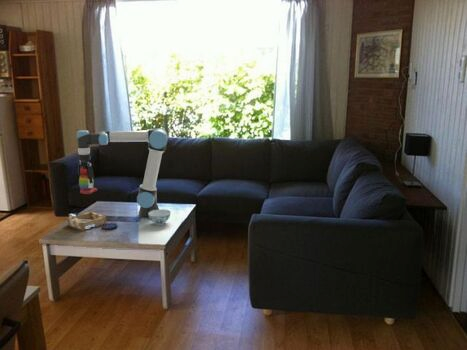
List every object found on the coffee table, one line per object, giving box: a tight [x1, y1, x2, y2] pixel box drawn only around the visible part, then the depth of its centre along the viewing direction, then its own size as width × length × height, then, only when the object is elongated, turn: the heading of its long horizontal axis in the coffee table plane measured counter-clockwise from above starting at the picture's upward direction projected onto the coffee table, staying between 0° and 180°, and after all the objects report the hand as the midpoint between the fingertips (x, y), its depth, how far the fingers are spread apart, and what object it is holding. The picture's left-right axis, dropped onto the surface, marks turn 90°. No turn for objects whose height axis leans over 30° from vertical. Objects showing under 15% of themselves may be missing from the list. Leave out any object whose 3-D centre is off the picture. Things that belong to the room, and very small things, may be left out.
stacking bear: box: [78, 167, 98, 195], centre depth 280 cm, size 11×10×18 cm
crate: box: [67, 210, 107, 232], centre depth 284 cm, size 18×18×5 cm
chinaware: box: [148, 208, 171, 226], centre depth 284 cm, size 15×15×8 cm
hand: (86, 186), depth 281 cm, fingers closed on stacking bear, 9 cm apart
